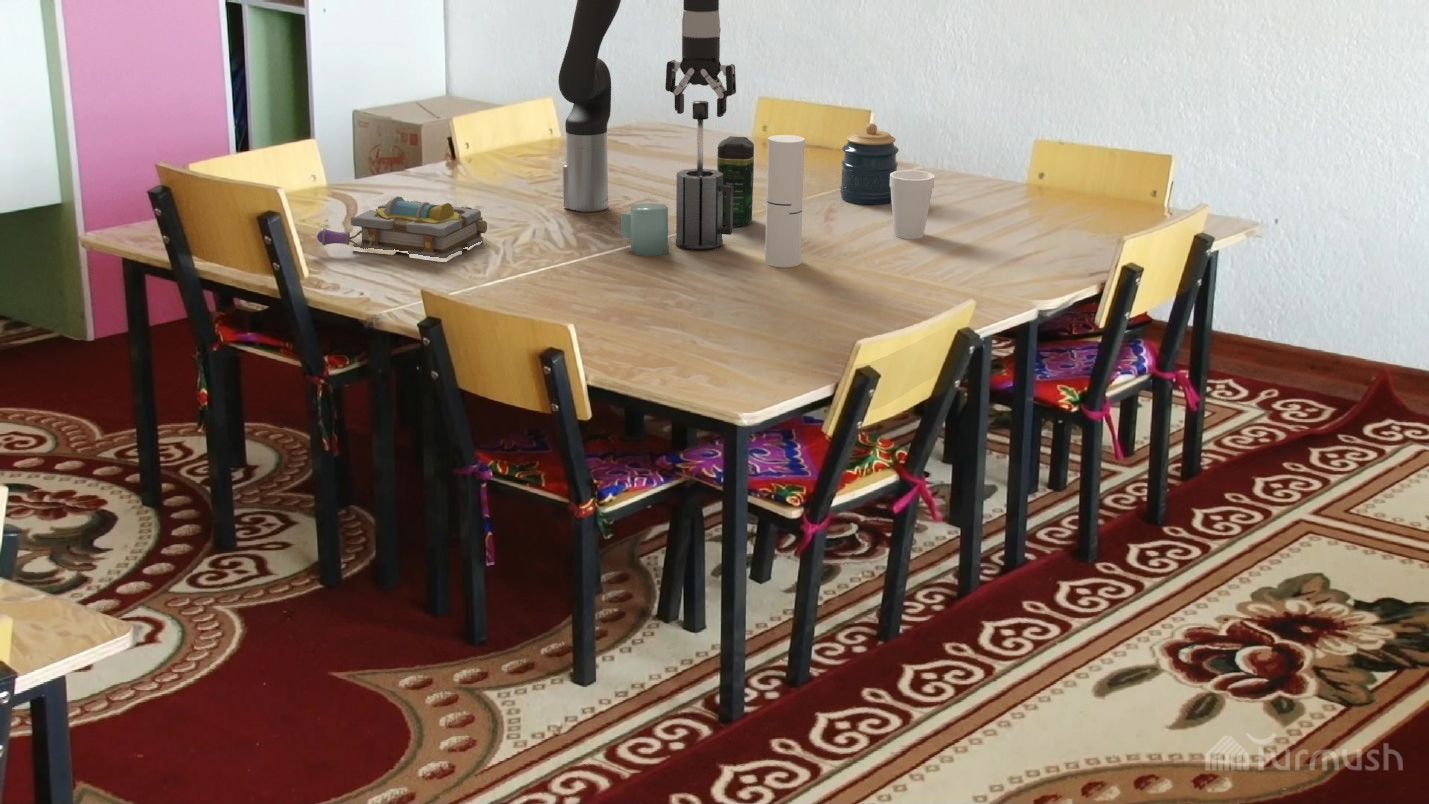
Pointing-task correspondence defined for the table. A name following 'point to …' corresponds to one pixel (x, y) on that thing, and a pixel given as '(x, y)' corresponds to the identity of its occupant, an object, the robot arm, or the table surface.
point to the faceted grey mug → (702, 210)
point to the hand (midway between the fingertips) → (700, 114)
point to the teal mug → (646, 229)
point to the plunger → (700, 131)
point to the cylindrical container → (784, 200)
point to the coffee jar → (737, 176)
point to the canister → (868, 166)
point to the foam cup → (910, 202)
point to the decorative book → (414, 228)
